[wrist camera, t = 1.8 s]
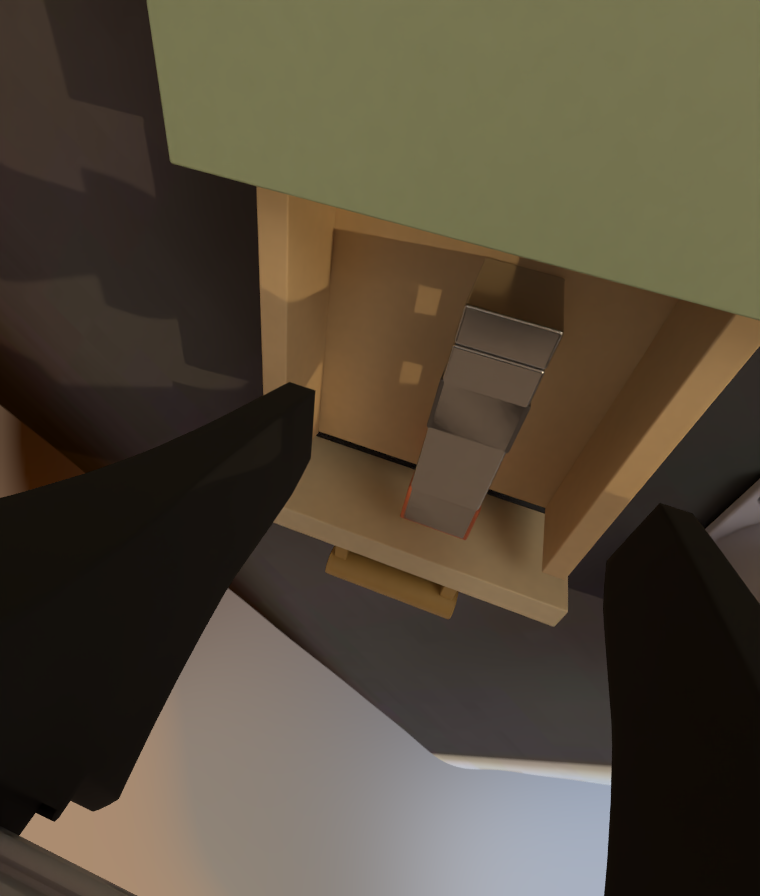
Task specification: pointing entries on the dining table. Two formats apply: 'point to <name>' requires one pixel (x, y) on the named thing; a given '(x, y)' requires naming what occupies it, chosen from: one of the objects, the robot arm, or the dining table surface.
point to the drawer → (415, 385)
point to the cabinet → (492, 124)
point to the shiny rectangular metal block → (484, 392)
